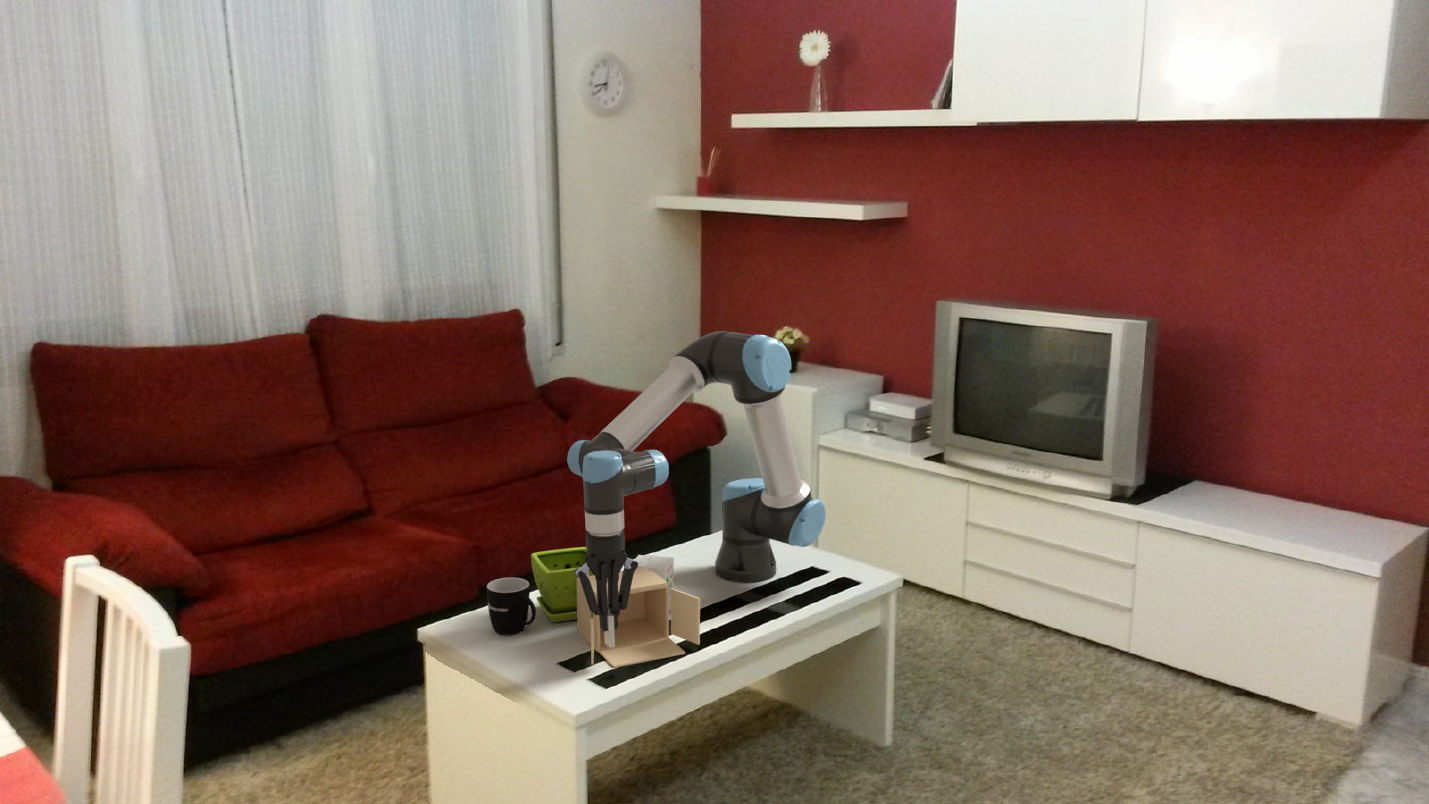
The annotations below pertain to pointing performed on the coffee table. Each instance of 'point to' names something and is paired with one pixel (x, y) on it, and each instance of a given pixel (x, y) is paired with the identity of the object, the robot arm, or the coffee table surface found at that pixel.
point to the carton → (643, 620)
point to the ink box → (659, 568)
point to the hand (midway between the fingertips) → (609, 645)
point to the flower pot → (558, 581)
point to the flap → (592, 638)
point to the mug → (509, 605)
